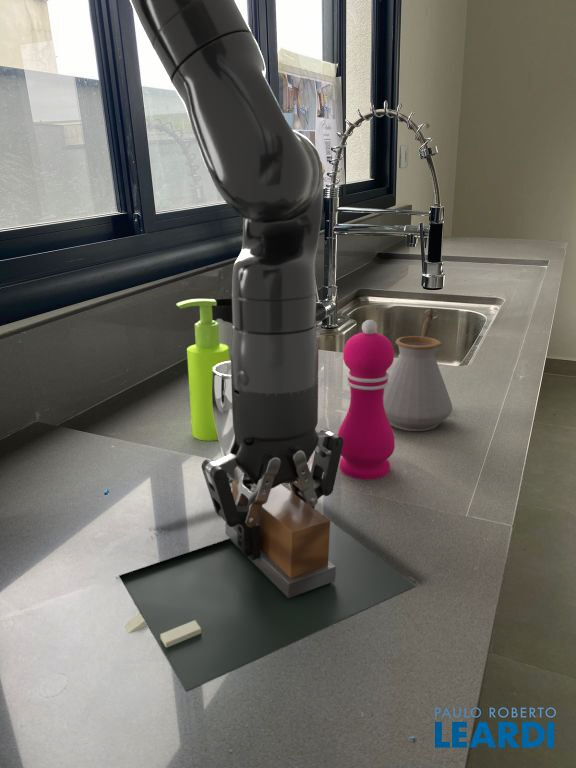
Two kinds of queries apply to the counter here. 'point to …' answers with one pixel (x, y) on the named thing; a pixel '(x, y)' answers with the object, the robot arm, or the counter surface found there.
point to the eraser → (291, 542)
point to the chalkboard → (250, 603)
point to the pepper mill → (367, 406)
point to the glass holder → (224, 321)
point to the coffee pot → (417, 384)
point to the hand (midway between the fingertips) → (276, 545)
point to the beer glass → (224, 410)
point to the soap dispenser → (203, 368)
